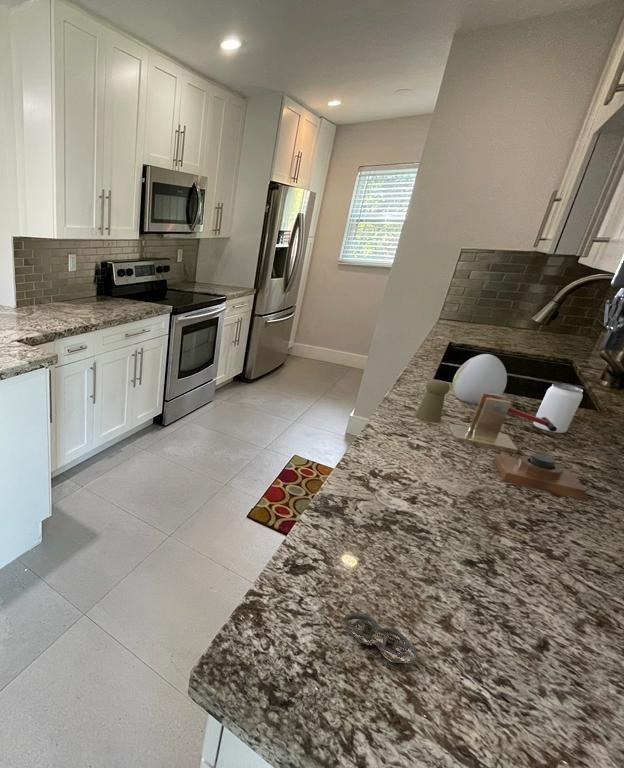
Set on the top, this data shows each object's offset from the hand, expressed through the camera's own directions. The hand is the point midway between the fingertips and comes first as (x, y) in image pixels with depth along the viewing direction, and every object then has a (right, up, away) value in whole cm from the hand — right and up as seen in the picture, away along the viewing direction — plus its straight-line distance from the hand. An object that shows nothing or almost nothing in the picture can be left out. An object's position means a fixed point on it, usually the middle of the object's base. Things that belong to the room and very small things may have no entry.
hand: (609, 349), depth 85 cm
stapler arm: (-6, -15, +14) cm, 21 cm away
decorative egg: (+10, -12, +44) cm, 47 cm away
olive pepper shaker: (-14, -17, +31) cm, 38 cm away
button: (-13, -24, +1) cm, 28 cm away
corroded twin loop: (-70, -40, -33) cm, 87 cm away
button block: (-13, -28, +2) cm, 31 cm away
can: (+15, -19, +26) cm, 36 cm away
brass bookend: (-10, -21, +19) cm, 30 cm away
